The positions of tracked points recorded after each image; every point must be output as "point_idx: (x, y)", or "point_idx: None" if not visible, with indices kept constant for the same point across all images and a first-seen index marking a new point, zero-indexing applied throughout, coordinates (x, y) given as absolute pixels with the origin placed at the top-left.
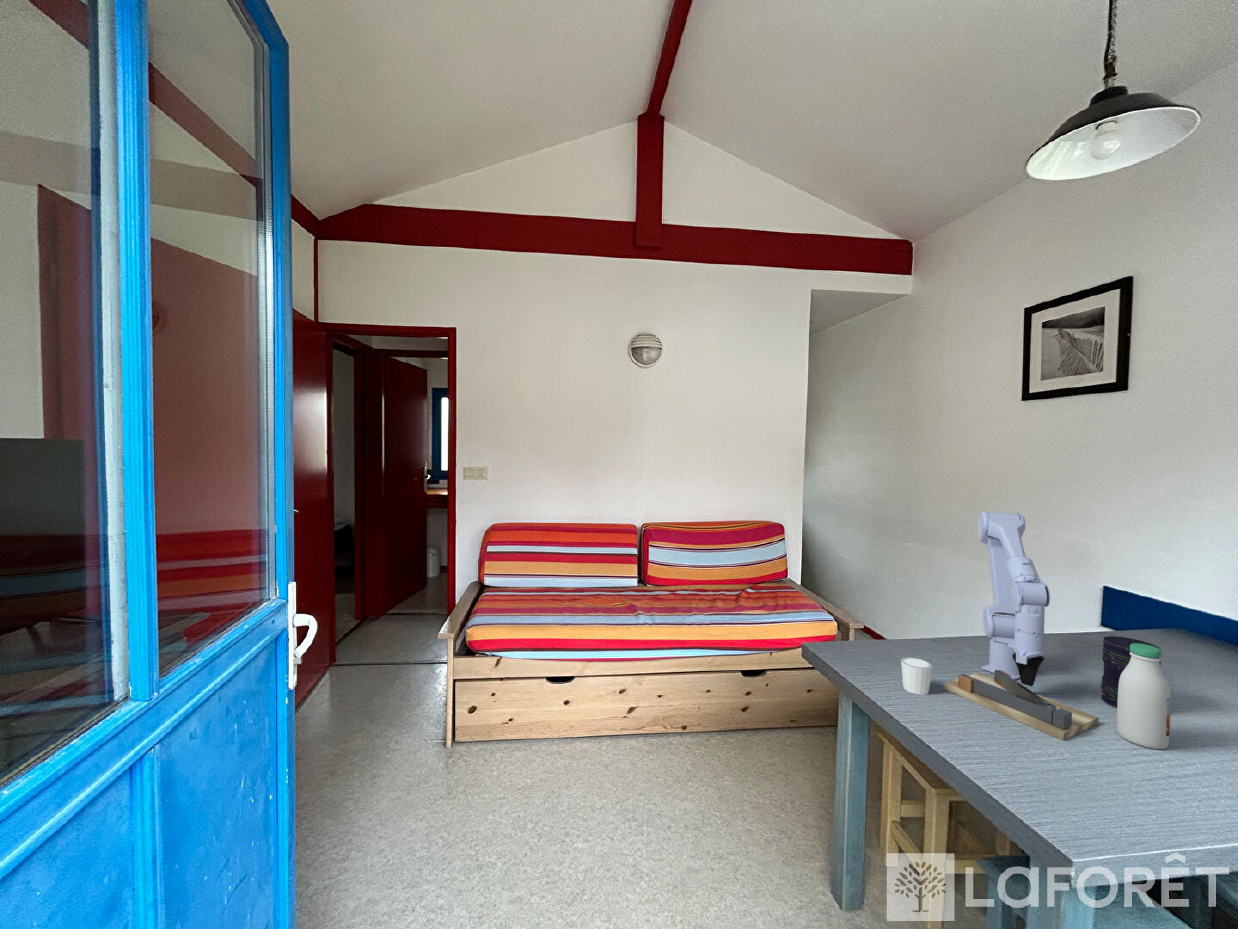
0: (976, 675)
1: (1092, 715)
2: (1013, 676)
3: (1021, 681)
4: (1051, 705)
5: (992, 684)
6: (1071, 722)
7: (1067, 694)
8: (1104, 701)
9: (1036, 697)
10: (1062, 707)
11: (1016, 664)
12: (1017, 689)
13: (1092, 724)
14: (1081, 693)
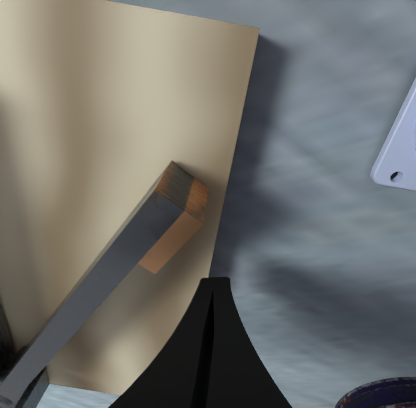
0: (183, 43)
1: None
2: (410, 173)
3: (199, 285)
4: (2, 403)
5: (131, 163)
6: (42, 393)
7: (360, 325)
8: (370, 386)
9: (12, 374)
10: None
11: (144, 371)
12: (64, 301)
13: None
14: (407, 346)
